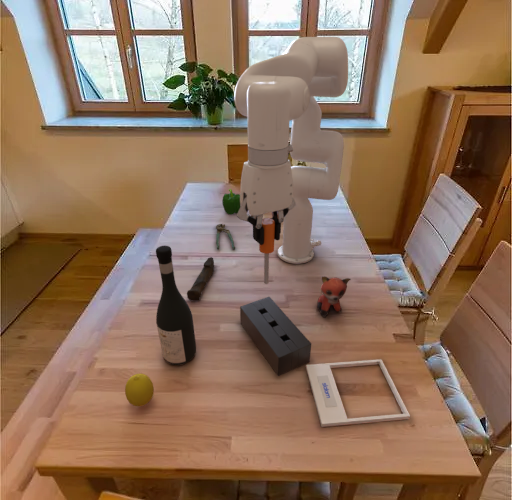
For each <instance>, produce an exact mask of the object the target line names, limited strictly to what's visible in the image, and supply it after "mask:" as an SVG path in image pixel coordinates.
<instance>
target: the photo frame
mask: <svg viewBox="0 0 512 500" xmlns="http://www.w3.org/2000/svg"><path fill="white" fill-rule="evenodd" d="M373 365H374V366H375V365H379V367H380V369H381V371H382V373H383V375H384V378H385V379H386V381H387V384H388V386H389V387H390V390H391V392H392V394H393V396H394V398H395V400H396V402H397V404H398V406H399V408H400V410H401V412H402V413H397V414H396V413H395V414H384V415H383V414H382V415H373V416H361V417H349V418H348V416H347V413H346V410H345V407H344V405H343V401H342V399H341V396H340V393H339V390H338V387H337V383H336V380H335V378H334V375H333V372H332V369H335V368H336V369H337V368H347V367H360V366H361V367H362V366H373ZM305 370H306V374H307V378H308V380H309V385H310V389H311V392H312V396H313V400H314V404H315V408H316V411H317V415H318V419H319V423H320V426H321V427H322V428H324V427H334V426H336V427H337V426H347V425H357V424H368V423H379V422H381V423H382V422H389V421H390V422H392V421H402V420H410V419H411V414H410V413H409V411H408V409H407V407H406V405H405V402H404V401H403V399H402V397H401V395H400V393H399V392H398V389H397V387H396V385H395V383H394V381H393V379H392V377H391V375H390V373H389V371H388V369H387V367H386V365H385V363H384V360H383V359H382V358H378V359H364V360H353V361H351V360H350V361H338V362H327V363H325V362H324V363H312V364H305Z"/></svg>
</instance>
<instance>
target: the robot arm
mask: <svg viewBox="0 0 512 500" xmlns="http://www.w3.org/2000/svg"><path fill="white" fill-rule="evenodd" d="M348 53H349V52H348V49H347V44H346V42H345V41H344V40H343V39H342V38H340V37H338V36H301V37H298V38H296V39H294V40H293V41H292V42H290V44H289V45H288V47H287V48H286V49H285V51H284V52H283V53H282V54H280V55H276V56H273V57H271V58H267V59H265V60H261V61H259V62H255V63H253V64H251V65H249V67H247V68H246V69H245V70H244V71H243V73H242V74H241V75H240V77H238V80H237V82H236V85H235V88H234V96H233V97H234V98H233V99H234V105H235V108H236V110H237V112H238V113H239V114H241V115H242V116H244V117H246V119H247V120H246V121H247V124H246V125H247V161H244V162H243V165H242V170H241V177H240V190H239V191H240V192H239V194H240V206H241V207H240V209H239V211H238V213H236V217H237V218H238V219H239V220H240V221H243V222H247V223H250V225H252V239H253V240H254V241H255V242H257V244H260V245H263V244H264V228H263V227H262V219H263V218H264V215H266V214H270V213H271V217H270V218H271V219H273V220H274V221H275V235H274V241H280V239H281V233H282V245H280V246H279V247H278V249H277V256H278V258H279V259H280V260H282V261H284V262H286V263H288V264H295V265H300V264H305V263H308V262H310V261H311V260H313V258H314V256H315V255H314V254H315V251H314V250H313V249H315V248H316V247H319V246H322V241H321V240H320V239H318V240H314V238H312V227H313V217H314V207H313V204H312V202H311V201H310V199H312V200H313V199H314V200H324V201H331V200H334V199H335V198H336V197H337V195H338V193H339V187H340V181H341V173H342V164H343V156H344V147H345V142H344V136H343V135H342V134H341V133H340V132H339V131H335V130H325V129H323V130H322V129H321V123H322V115H323V112H322V109H321V107H320V104H319V103H318V101H317V100H316V98H315V97H318V98H320V97H321V98H339V97H341V96H342V95H344V93H345V92H346V90H347V86H348V84H349V83H348V82H349V55H348ZM290 121H291V129H290ZM290 131H291V132H290ZM289 142H290V143H289ZM289 154H290V158H292V160H294V161H297V162H303V163H313V164H315V163H316V164H322V165H325V168H324V167H314V166H308V165H307V166H305V165H292V163H291V160H290V159H289ZM282 226H283V227H282ZM282 228H283V229H282Z"/></svg>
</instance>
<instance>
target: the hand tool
mask: <svg viewBox="0 0 512 500" xmlns="http://www.w3.org/2000/svg"><path fill="white" fill-rule="evenodd" d="M214 269H215V259H214V257H212V256H211V257H208V258H207V259H206V260H205V261H204V263H203V267H202V269H201V271H200V273H199V274H198V276H197V277H196V279H195V281H194V282H193V284H192V286H191V288H189V289H188V290H187V292H186V296H187V299H188V300H189V301H192V302H199V301H201V296H202V293H203V291H204V290H205V287H206V286H207V284H208V282H209V280H210V279H211V276H213V275H214Z"/></svg>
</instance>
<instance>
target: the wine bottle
mask: <svg viewBox="0 0 512 500" xmlns="http://www.w3.org/2000/svg"><path fill="white" fill-rule="evenodd" d="M155 254H156V255H155V257H156V258H157V261H158V262H157V263H158V266H159V272H160V278H161V284H162V287H161V288H162V291H161V296H160V299H159V302H158V305H157V308H156V317H155V323H156V329H157V333H158V338H159V343H160V350H161V355H162V357H163V359H164V361H165V362H166V363H168V365H172V366H182V365H185V364H187V363H189V362H191V361H192V360H193V359H194V358H195V355H196V353H197V342H196V341H197V340H196V334H195V326H194V325H195V324H194V317H193V313H192V310H191V308H190V306H189V304H188V302H187V301H186V300H185V298H184V296H183V295H182V294H181V292H180V290H179V289H178V286H177V284H176V278H175V271H174V263H173V257H172V256H173V250H172V248H171V247H170V246H169V245H160V246H157V248H156V249H155Z"/></svg>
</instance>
